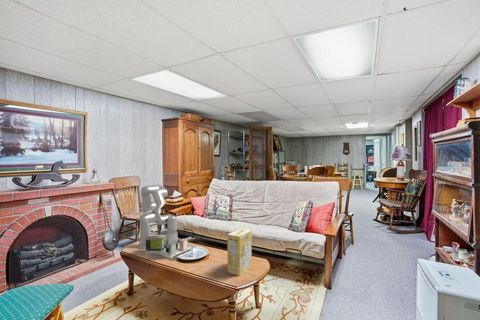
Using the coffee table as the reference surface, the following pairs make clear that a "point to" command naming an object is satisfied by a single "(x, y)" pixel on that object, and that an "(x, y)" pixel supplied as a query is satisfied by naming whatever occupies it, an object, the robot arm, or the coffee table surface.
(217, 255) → the coffee table surface
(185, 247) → the terracotta carton
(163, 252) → the shelf
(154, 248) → the tea box
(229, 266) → the pasta box
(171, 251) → the sage carton
